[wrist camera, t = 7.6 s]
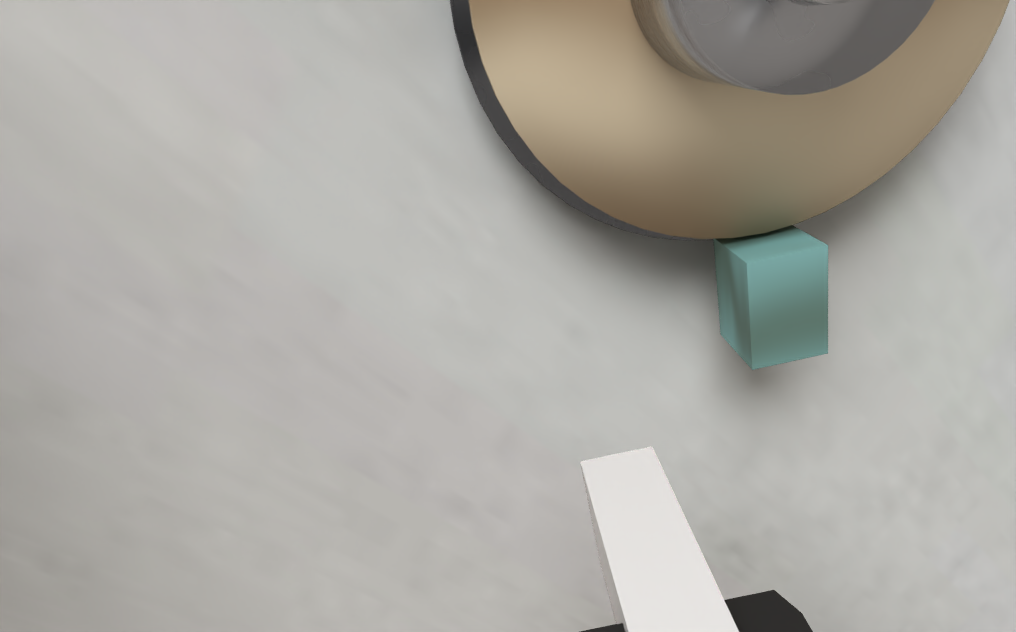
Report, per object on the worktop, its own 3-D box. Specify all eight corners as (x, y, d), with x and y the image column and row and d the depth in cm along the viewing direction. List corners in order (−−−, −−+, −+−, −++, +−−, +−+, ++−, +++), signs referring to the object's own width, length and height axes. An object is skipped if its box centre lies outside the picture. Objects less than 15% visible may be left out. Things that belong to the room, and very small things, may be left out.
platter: (401, -314, 15) (390, -389, 13) (1023, -456, 15) (1149, -564, 12) (542, 367, 23) (555, 412, 20) (957, 276, 23) (1026, 309, 20)
